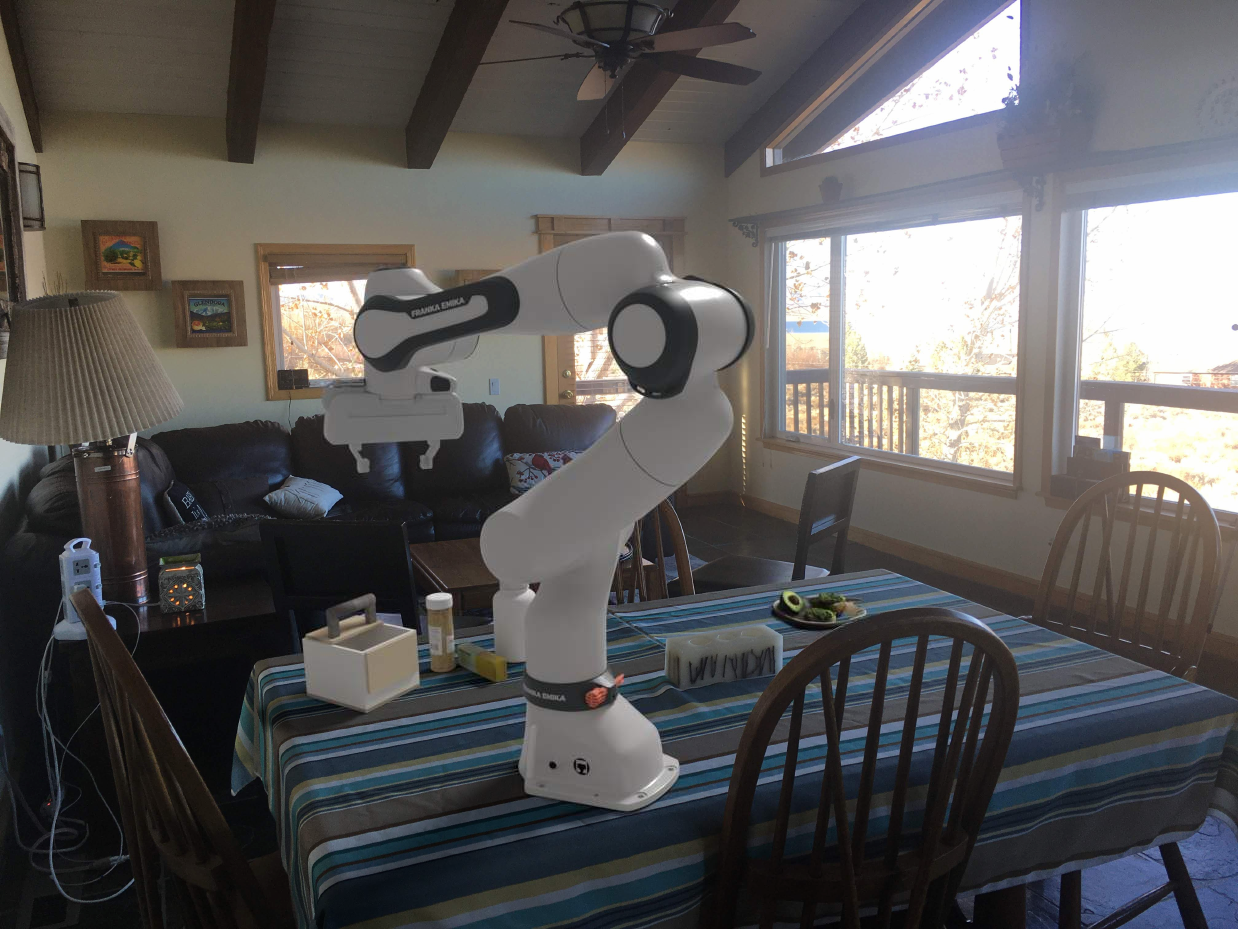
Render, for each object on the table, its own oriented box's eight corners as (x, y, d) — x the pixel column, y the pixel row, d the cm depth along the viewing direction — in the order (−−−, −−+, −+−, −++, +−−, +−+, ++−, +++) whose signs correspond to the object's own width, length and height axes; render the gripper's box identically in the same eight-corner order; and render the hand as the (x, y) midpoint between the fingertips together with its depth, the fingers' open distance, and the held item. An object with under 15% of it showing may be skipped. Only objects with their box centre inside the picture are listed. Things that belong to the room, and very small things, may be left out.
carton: (422, 687, 157) (418, 630, 155) (368, 714, 147) (364, 654, 145) (361, 671, 164) (357, 617, 163) (307, 696, 154) (302, 638, 153)
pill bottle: (546, 657, 169) (543, 577, 166) (507, 667, 164) (503, 586, 162) (525, 644, 175) (522, 568, 173) (487, 654, 171) (483, 576, 168)
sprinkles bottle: (460, 669, 164) (456, 596, 162) (436, 675, 162) (431, 601, 159) (450, 661, 168) (445, 590, 166) (426, 667, 165) (421, 595, 163)
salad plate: (839, 596, 201) (840, 575, 200) (889, 621, 184) (890, 599, 183) (760, 607, 194) (760, 586, 193) (804, 635, 178) (804, 612, 177)
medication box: (456, 665, 167) (455, 644, 166) (469, 661, 168) (467, 640, 168) (495, 684, 158) (494, 662, 157) (508, 679, 160) (507, 657, 159)
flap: (383, 623, 159) (381, 593, 158) (333, 644, 149) (330, 611, 149) (356, 617, 162) (354, 587, 161) (305, 637, 153) (303, 605, 152)
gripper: (325, 383, 128) (327, 479, 132) (467, 380, 137) (466, 470, 141) (317, 376, 134) (319, 468, 137) (455, 374, 143) (454, 460, 146)
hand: (395, 469), depth 139 cm, fingers open, 8 cm apart
